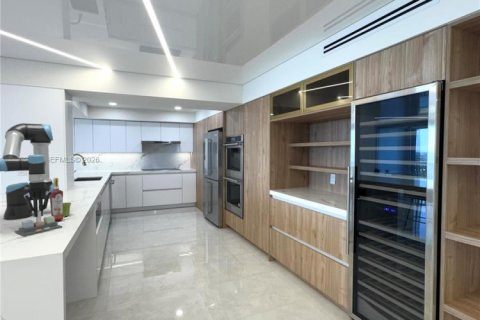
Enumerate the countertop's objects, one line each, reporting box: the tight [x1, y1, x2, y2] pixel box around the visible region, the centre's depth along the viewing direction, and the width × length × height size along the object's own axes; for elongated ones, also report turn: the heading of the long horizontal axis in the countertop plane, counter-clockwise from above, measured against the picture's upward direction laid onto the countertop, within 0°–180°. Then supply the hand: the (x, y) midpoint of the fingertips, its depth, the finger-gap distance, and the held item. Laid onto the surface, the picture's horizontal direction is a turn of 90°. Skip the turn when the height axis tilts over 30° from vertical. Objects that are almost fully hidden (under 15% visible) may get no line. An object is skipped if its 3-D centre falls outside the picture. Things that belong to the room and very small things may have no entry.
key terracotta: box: [34, 220, 45, 227], centre depth 147 cm, size 4×4×3 cm
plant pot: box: [63, 202, 72, 218], centre depth 178 cm, size 9×9×9 cm
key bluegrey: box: [21, 220, 35, 229], centre depth 143 cm, size 4×4×3 cm
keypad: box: [14, 221, 63, 237], centre depth 148 cm, size 13×18×3 cm
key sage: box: [43, 215, 55, 224], centre depth 152 cm, size 4×4×3 cm
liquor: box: [49, 177, 64, 222], centre depth 166 cm, size 7×7×28 cm
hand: (38, 222), depth 147 cm, fingers closed
